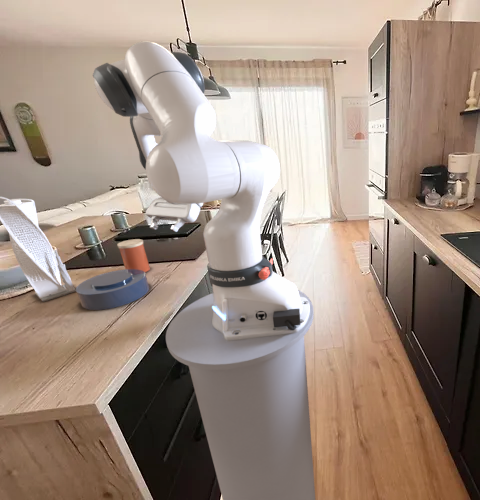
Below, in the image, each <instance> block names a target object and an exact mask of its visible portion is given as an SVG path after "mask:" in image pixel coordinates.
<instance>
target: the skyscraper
mask: <svg viewBox="0 0 480 500" xmlns="http://www.w3.org/2000/svg"><path fill="white" fill-rule="evenodd" d="M0 200H3V203H2V204H0V222H1V224H2V225H3V227H4V229H6V231H7V232H8V236H9V241H10V245H11V249H12V251H13V254H14V257H15V259H16V262H17V263H18V265H19V267H20V269H21V271H22V273H23V275H24V277H25V278H26V280H27V281H28V283H29V284H30V285H31V287H32V288H33V290H34V294H35V296H36V297H37V298H38V299H40V300H41V301H42V302H43V303H44V302H48V301H50V300H54V299H57V298H60V297H63V296H66V295H69V294H72V293H76V288H75V286H74V284H73V282H72V278H71V277H70V274H69V273H68V271H67V268H66V264H65V263H63V261H62V259H61V256H60V255H59V254H58V252H57V250H56V249H54V248H53V246H52V244H51V243H50V240H49V239H48V237H47V235H46V234H45V233H44V232H43V230H42V229H41V227H40V226H39V219H38V214H37V207H36V203H35V200H33V199H31V198H11V199H10V198H7V197H4V196H0ZM61 279H62V280H61ZM62 282H63V284H62Z"/></svg>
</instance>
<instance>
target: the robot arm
mask: <svg viewBox="0 0 480 500" xmlns="http://www.w3.org/2000/svg"><path fill="white" fill-rule="evenodd" d="M92 77H93V85H94V87H95V90H96V93H97V94H98V97H100V99H101V101H102V102H103V103H104V104H105V105H106V106H107V107H108V108H110V110H112V111H113V112H114V113H115V114H117V115H118V116H121V117H122V118H123V117H126V118H129V126H130V129H131V132H132V136H133V138H134V141H135V144H136V147H137V150H138V157H139V162H140V164H141V166H142V167H143V169H144V170H145V174H146V178H147V180H148V183H149V185H150V187H151V188H152V190H153V191H154V192H155V193H156V194H157V195H158V196H159V197H157V198H154V199H153V200H152V201H151V203H150V204H149V205H148V207H147V208H146V210H145V215H146V216H147V217H148V218H150V220H151V221H150V225H149V228H150V229H151V230H155V231H156V230H158V228H159V225H158V222H160V221H172V222H175V224H174V225H173V224H172V225H171V227H170V231H172V232H173V233H174V232H175V233H177V232H178V231H179V229H180V228H181V227H183V226H184V225H185V223H194V222H195V221H197V219H198V217H199V216H200V213H201V208H202V207H203V205H204V203H209V202H210V203H211V202H215V201H216V202H217V201H221V202H220V206H219V208H218V210H217V212H216V214H215V215H214V216H213V217H212V218H211V219H210V220H209V221H207V223H206V224H205V226H204V229H203V233H202V234H203V236H202V237H203V241H204V245H205V251H206V256H207V262H208V263H207V265H206V267H207V274H208V275H207V276H208V279H209V283H210V286H211V287H212V293H213V300H214V306H213V318H212V325H213V327H214V328H215V329H216V330H218V331H220V332H221V333H222V334H223V336H224V338H225V340H227V341H233V340H241V339H249V338H258V337H266V336H275V335H283V334H291V333H296V332H298V331H300V330H301V329H302V328H303V327H304V326H305V324H306V323H307V321H308V318H309V315H310V304H309V301H308V300H307V299H306V298H305V297H300V296H299V292H298V290H299V289H298V287H297V284H295V283H294V282H292V281H291V280H288V279H287V278H285V277H283V276H281V275H280V274H278V273H276V272H275V271H273V270H274V269H273V264H274V262H273V261H274V260H273V258H270V260H268V259H267V258H265V257H264V255H263V251H262V239H261V218H262V214H263V209H264V206H265V203H266V200H267V198H268V196H269V194H270V192H271V191H272V189H273V188H274V187H275V185H276V184H277V183H278V182H279V179H280V176H281V164H280V160H279V157H278V156H277V154H276V152H275V151H274V149H272V148H271V147H270V146H268V145H266V144H264V143H260V142H255V141H252V140H219V139H215V138H213V137H212V134H213V133H214V132H215V129H216V126H217V115H216V111H215V108H214V107H213V105H212V104H211V102H210V101H209V100H208V98H207V96H206V95H205V92H206V85H205V80H204V76H203V74H202V72H201V69H200V68H199V66H198V65H197V63H196V62H195V60H194V59H193V58H192V57H191V56H190V55H188V53H185V52H183V51H169V50H167V49H166V48H165V47H164V46H163V45H161V44H158V43H156V42H154V41H153V42H152V41H139V42H135V43H134V44H132V45H130V47H129V48H128V49H127V50H126V51H125V55H124V59H120V60H117V61H114V62H111V63H109V62H105V63H103V64H101V65H99V66H97V67H95V68H94V70H93V73H92ZM155 137H160V141H159V142H156V138H155Z"/></svg>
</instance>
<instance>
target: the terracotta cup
mask: <svg viewBox="0 0 480 500" xmlns="http://www.w3.org/2000/svg"><path fill="white" fill-rule="evenodd" d="M116 244H117V245H116V247H117V248H118V250H119V253H120V256H121V260H122V263H123V266H124V270H125V269H138V270H142V271H144V272H145V273H147V272H149V271H150V270H151V267H150V266H151V265H150V263H149V259H148V256H147V252H146V249H145V245H144V240H143V239H140V238H135V239H133V238H132V239H128V240H123V241H119V242H118V243H116Z"/></svg>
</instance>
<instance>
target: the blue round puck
mask: <svg viewBox="0 0 480 500" xmlns="http://www.w3.org/2000/svg"><path fill="white" fill-rule="evenodd" d="M75 289H76V291H75V293H76V294H77V298H78V299H79V302H80V305H81V307H82V308H83V309H85V310H89V311H90V310H91V311H100V310H101V311H102V310H109V309H110V310H111V309H114V308H119V307H121V306H125V305H128V304H130V303H133V302H135V301H137V300H139V299H140V298H142V297H144V296H145V295H146V294H147V293H148V292H149V290H150V285H149V282H148V278H147V273H146V272H144V271H142V270H138V269H125V268H124V269H118V270H114V271H113V270H112V271H109V272H104V273H100V274H98V275H95V276H92V277H90V278H88V279H86V280H84V281H82V282H80V283H79V284H78V285H77V286H76V288H75Z"/></svg>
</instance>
